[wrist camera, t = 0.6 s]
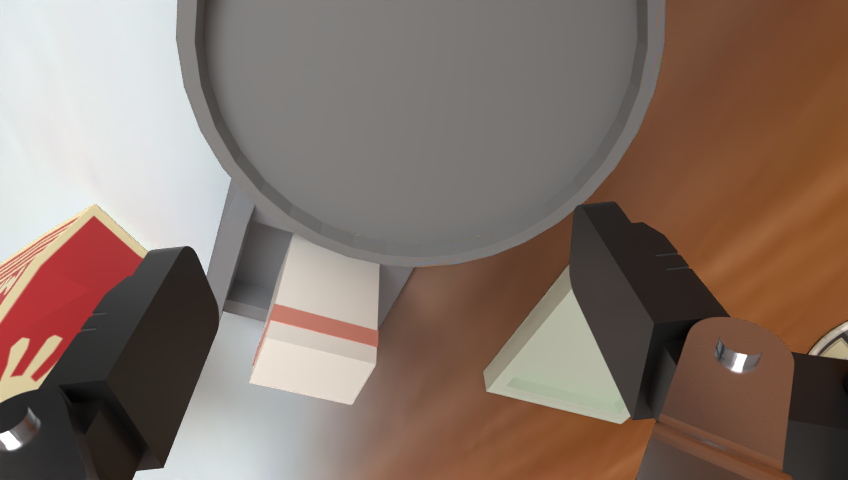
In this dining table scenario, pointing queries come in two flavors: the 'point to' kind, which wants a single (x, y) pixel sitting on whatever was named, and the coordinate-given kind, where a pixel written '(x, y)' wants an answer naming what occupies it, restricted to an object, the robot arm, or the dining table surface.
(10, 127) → the dining table surface
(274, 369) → the white banded brick
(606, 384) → the tray
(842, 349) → the coffee can
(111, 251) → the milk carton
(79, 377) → the robot arm
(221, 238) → the grey holder
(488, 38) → the reusable coffee cup
